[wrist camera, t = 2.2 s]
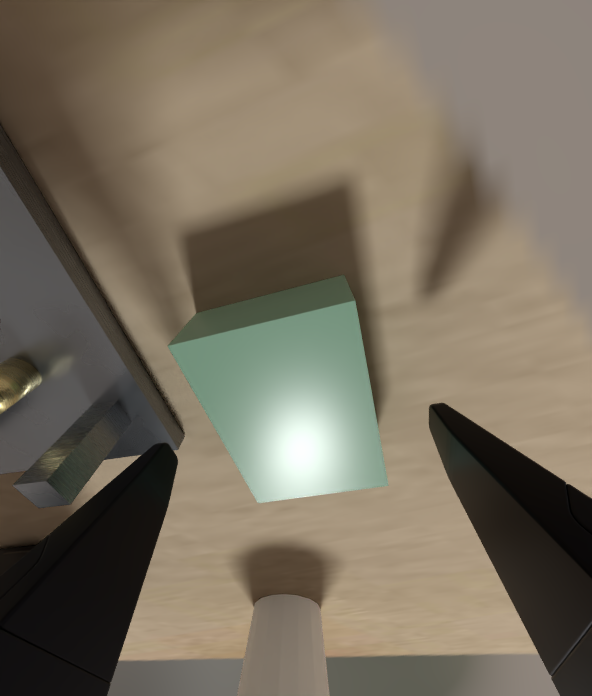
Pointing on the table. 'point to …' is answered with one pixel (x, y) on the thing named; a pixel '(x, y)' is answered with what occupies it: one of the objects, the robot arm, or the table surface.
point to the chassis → (62, 357)
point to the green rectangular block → (288, 390)
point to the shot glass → (285, 649)
